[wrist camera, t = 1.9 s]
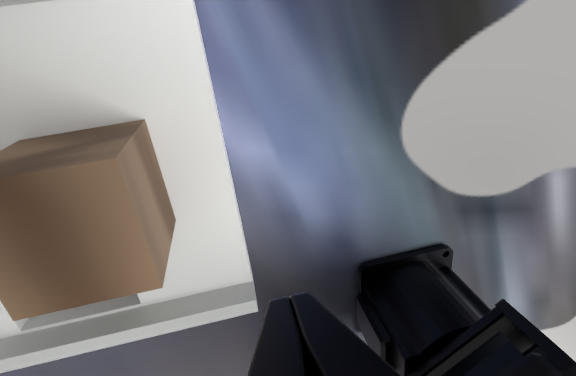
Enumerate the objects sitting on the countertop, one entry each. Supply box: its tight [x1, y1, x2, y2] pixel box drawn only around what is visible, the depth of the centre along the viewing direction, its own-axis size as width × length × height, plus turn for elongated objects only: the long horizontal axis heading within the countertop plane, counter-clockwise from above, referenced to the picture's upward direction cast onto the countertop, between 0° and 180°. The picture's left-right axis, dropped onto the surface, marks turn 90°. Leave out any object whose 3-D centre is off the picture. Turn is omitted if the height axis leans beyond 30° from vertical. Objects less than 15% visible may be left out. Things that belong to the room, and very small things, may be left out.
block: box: [0, 119, 176, 321], centre depth 13 cm, size 5×5×5 cm
